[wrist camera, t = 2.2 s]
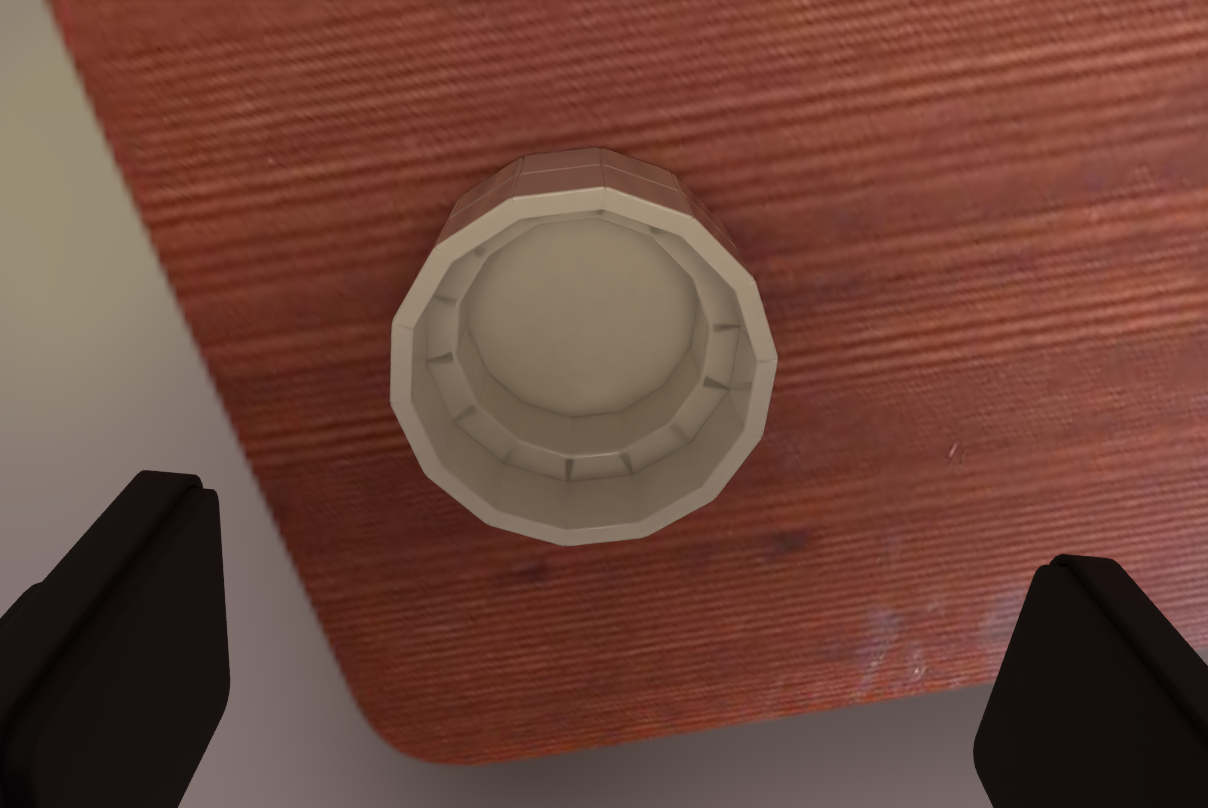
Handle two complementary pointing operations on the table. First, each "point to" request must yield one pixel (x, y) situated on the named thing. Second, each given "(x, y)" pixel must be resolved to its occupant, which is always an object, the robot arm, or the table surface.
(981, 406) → the table surface
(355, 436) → the table surface
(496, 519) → the bowl
